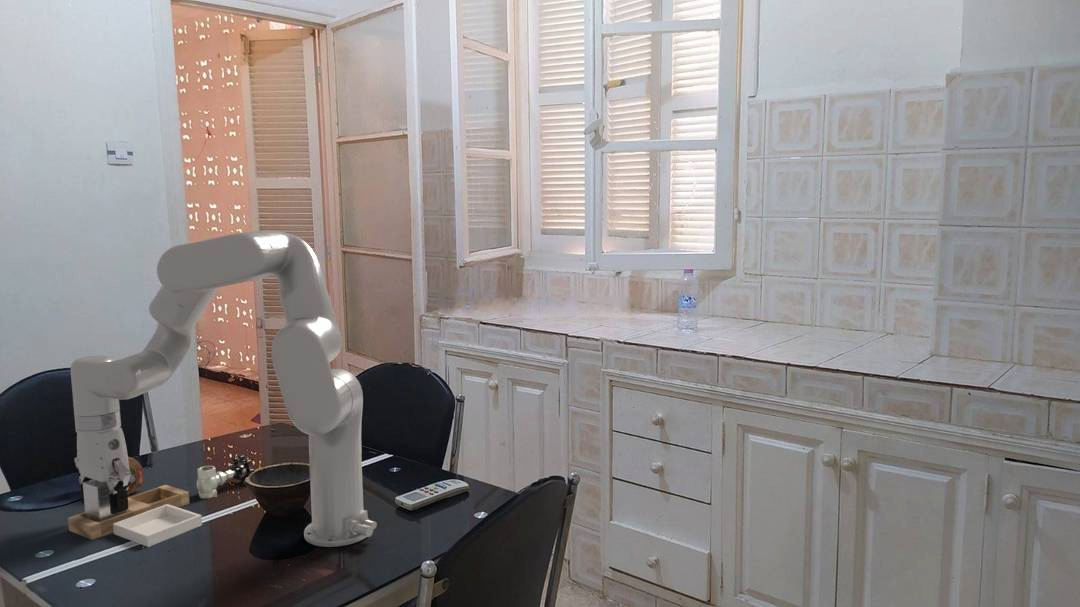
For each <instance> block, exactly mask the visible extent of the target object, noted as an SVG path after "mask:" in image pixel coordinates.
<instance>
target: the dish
mask: <svg viewBox="0 0 1080 607" xmlns="http://www.w3.org/2000/svg"><path fill="white" fill-rule="evenodd" d="M201 526H203V516H202V514H199V513H195V512H193V511H190V510H187V509H185V508H184V509H183V508H181V507H179V508H178V507H175V506H172V505H169V504H166V505H163V506H160V507H157V508H155V509H152V510H149V511H146V512H144V513H141V514H138V515H135V516H133V517H130V518H127V519H124V520H122V521H119V522H116V523H113V530H114V532H113V535H115V536H118V537H120V538H123V539H126V540H128V541H131V542H134V543H136V544H138V545H139V544H140V545H141V546H144V547H146V548H150V547H152V546H154V545H157V544H159V543H162V542H164V541H167V540H169V539H172V538H174V537H177V536H180V535H182V534H184V533H186V532H188V531H192V530H194V529H196V528H199V527H201Z"/></svg>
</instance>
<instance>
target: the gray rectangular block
mask: <svg viewBox="0 0 1080 607" xmlns="http://www.w3.org/2000/svg"><path fill="white" fill-rule="evenodd" d="M111 477H114V476H110V478H111ZM118 481H119V480H117V481H114V482H113V483H114V485H115V486H116V484H117V483H118ZM83 492H84V512H85V515H86V518H87V519H90V520H93V521H95V522H101V521H104V520H107V519H110V518H112V517H115V516H118V515H121V514H124V513H126V510H125V511H122V512H119V513H116V514H111V513H110V501H109V494H111V491H110V489H109V487H108V485H107V483H104V482H100V481H97V480H94V479H93V480H89V481H86V482H83Z"/></svg>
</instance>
